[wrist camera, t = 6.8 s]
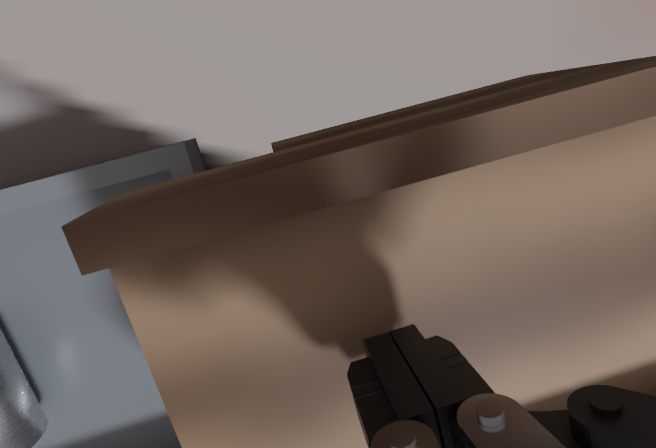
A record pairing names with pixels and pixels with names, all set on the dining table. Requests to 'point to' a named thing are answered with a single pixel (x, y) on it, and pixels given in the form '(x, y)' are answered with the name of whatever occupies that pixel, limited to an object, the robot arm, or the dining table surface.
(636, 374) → the brown open channel
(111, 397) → the grey tray
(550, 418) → the robot arm
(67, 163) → the dining table surface
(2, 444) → the steel slug
